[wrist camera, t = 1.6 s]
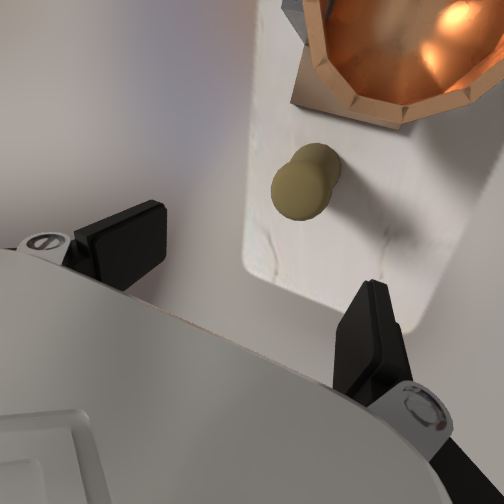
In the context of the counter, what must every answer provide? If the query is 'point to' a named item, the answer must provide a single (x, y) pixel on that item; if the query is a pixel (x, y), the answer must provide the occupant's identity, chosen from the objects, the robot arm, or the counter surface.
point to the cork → (306, 182)
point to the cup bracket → (396, 56)
